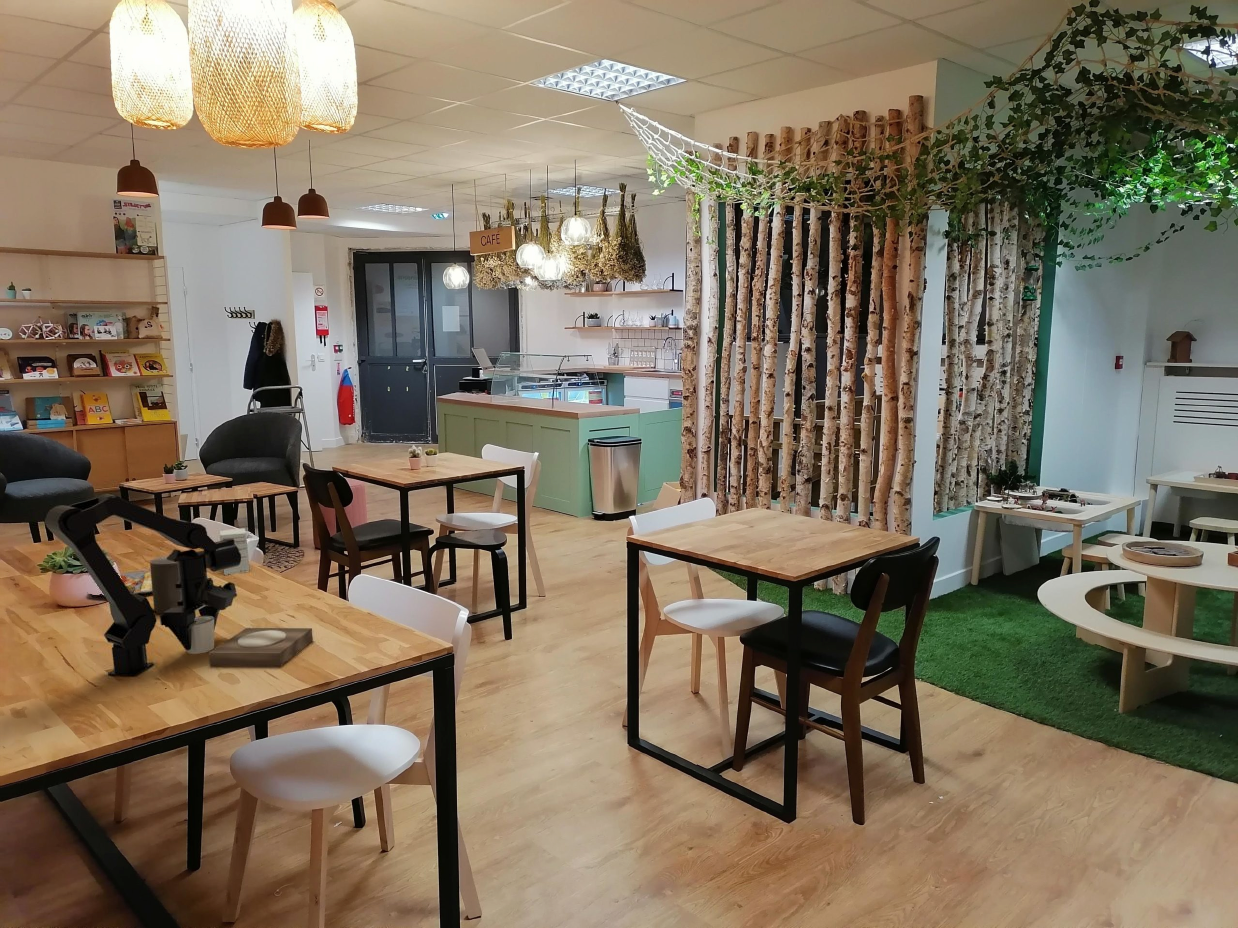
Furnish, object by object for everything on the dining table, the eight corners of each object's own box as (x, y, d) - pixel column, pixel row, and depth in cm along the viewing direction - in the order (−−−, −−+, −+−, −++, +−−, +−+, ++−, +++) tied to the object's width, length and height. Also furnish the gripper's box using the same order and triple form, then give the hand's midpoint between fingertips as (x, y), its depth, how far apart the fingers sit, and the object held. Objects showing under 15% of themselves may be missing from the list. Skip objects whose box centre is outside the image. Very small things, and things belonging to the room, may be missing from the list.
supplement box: (223, 570, 267) (219, 530, 265) (249, 566, 270) (245, 527, 268) (223, 575, 260) (219, 535, 258) (249, 572, 263) (246, 532, 261)
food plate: (100, 580, 257) (99, 569, 256) (186, 572, 265) (185, 561, 265) (81, 606, 234) (80, 594, 233) (176, 596, 242) (175, 584, 242)
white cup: (203, 655, 193) (200, 625, 192) (177, 653, 195) (173, 624, 194) (223, 644, 200) (220, 615, 199) (197, 643, 201) (194, 614, 200)
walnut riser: (280, 666, 185) (279, 650, 185) (209, 665, 187) (208, 650, 186) (312, 640, 201) (311, 626, 201) (247, 640, 202) (246, 625, 202)
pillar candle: (157, 617, 221) (152, 560, 219) (151, 608, 229) (146, 553, 227) (198, 610, 227) (194, 555, 225) (191, 601, 235) (187, 548, 232)
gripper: (204, 588, 185) (211, 657, 187) (248, 565, 203) (253, 628, 205) (155, 588, 186) (162, 657, 188) (203, 565, 204) (209, 628, 206)
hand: (199, 642), depth 197 cm, fingers open, 9 cm apart
